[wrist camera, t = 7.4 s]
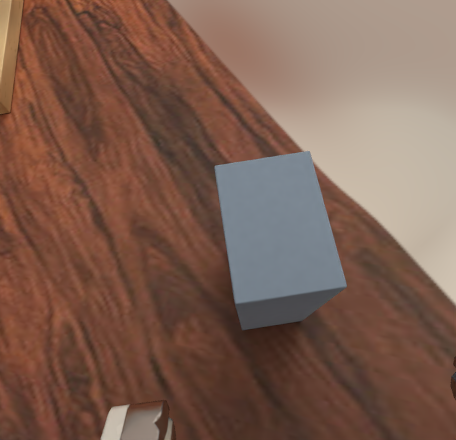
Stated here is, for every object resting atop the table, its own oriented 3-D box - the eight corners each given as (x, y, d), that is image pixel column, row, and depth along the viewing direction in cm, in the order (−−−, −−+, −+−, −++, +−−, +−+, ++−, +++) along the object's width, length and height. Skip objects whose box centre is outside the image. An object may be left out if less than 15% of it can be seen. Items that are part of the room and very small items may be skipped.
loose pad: (241, 330, 20) (234, 304, 11) (229, 248, 22) (214, 165, 12) (302, 320, 20) (347, 286, 11) (284, 239, 22) (310, 150, 12)
